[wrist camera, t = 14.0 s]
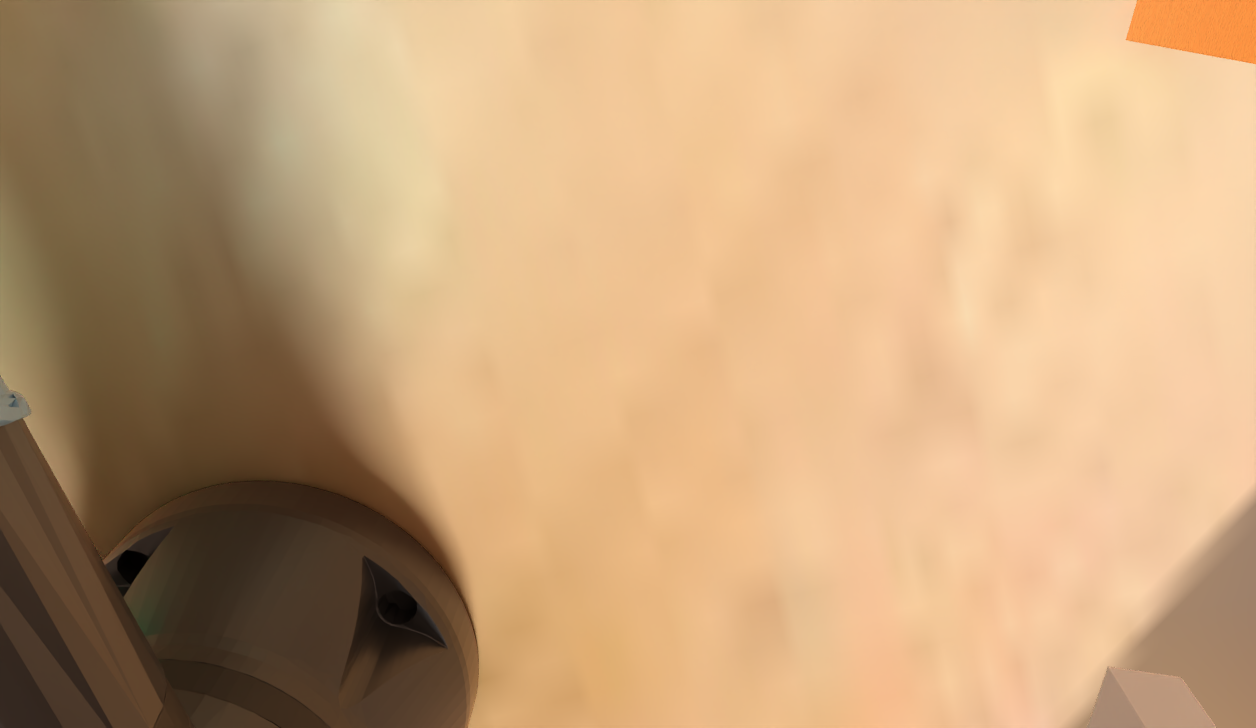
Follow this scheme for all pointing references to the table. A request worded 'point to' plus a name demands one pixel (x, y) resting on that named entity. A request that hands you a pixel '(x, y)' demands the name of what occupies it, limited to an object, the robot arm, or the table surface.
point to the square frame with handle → (1198, 26)
